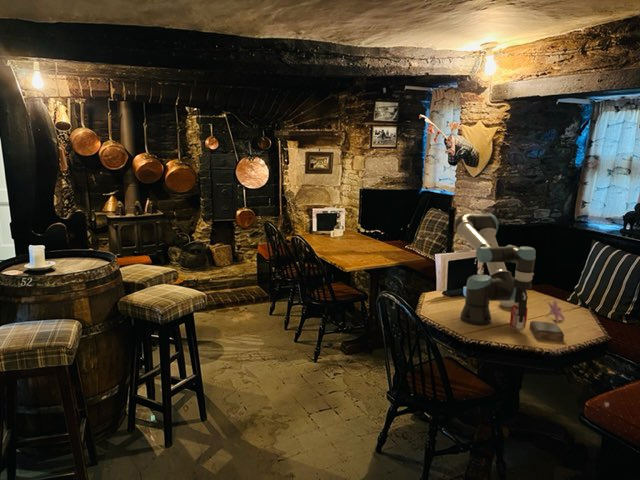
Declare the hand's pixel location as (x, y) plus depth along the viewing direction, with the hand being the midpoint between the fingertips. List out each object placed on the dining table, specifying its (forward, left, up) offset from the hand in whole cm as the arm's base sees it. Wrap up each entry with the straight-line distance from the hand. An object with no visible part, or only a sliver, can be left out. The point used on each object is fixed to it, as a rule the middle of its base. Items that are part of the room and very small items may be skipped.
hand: (517, 324), depth 211 cm
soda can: (0, 0, -2) cm, 2 cm away
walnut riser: (+13, +1, -4) cm, 14 cm away
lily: (+23, +24, -4) cm, 33 cm away
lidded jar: (+2, +39, -4) cm, 39 cm away
